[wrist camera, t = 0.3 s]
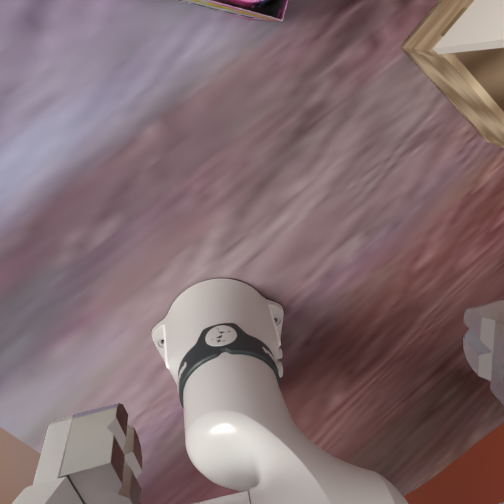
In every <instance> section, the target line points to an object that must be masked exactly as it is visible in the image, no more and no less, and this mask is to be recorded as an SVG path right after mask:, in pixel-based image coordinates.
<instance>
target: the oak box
mask: <svg viewBox="0 0 504 504" xmlns="http://www.w3.org/2000/svg"><path fill="white" fill-rule="evenodd" d="M473 1H474V0H439V1H438V2H437V3H436V5H435V6H434V7H433V8H432V9H431V11H430V12H429V13H428V14H427V15H426V17H425V18H424V19H423V20H422V21H421V23H420V24H419V25H418V26H417V27H416V29H415V30H414V31H413V32H412V33H411V35H410V36H409V37H408V38H407V39H406V40H405V42H404V43H403V44H402V45H401V46H400V47H401V48H402V50H403V51H404V52H405V53H406V54H407V55H408V56H409V57H410V58H411V59H412V60H413V62H414V63H415V64H416V65H417V66H418V67H419V68H420V69H421V70H422V71H423V72H424V74H425V75H426V76H427V77H428V78H429V79H430V80H431V81H432V82H433V83H434V84H435V86H436V87H437V88H438V89H439V90H440V91H441V92H442V93H443V94H444V95H445V96H446V98H447V99H448V100H449V101H450V102H451V103H452V104H453V105H454V106H455V107H456V108H457V110H458V111H459V112H460V113H461V114H462V115H463V116H464V117H465V118H466V119H467V120H468V121H469V123H470V124H471V125H472V126H473V127H474V128H475V129H476V130H477V131H478V132H479V133H480V135H481V136H482V137H483V138H484V139H485V140H486V141H487V142H489V143H492V144H494V145H497V146H499V147H502V148H504V48H496V49H486V50H476V51H466V52H457V53H447V54H437V53H436V52H435V51H434V50H433V48H434V47H435V46H436V44H437V43H438V42H439V41H440V40H441V39H442V37H443V36H444V35H445V34H446V33H447V32H448V30H449V29H450V28H451V27H452V26H453V25H454V23H455V22H456V21H457V20H458V19H459V18H460V17H461V15H462V14H463V13H464V12H465V11H466V10H467V8H468V7H469V6H470V5H471V4H472V3H473Z"/></svg>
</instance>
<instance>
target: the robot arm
mask: <svg viewBox="0 0 504 504" xmlns="http://www.w3.org/2000/svg"><path fill="white" fill-rule="evenodd" d="M283 316H284V312H283V308H282V306H281V305H280V304H278V303H276V302H273V301H271V300H267V299H265V298H264V297H263V296H261V295H260V294H259V293H258V292H257V291H256V290H255V289H254V288H252V287H251V286H249V285H247V284H245V283H243V282H240V281H237V280H233V279H211V280H206V281H203V282H200V283H198V284H195V285H193V286H191V287H190V288H188V289H187V290H185V291H184V292H183V293H182V294H181V295H179V297H178V298H177V299H176V300H175V301H174V303H173V304H172V306H171V308H170V310H169V312H168V314H167V316H166V317H165V318H164V319H163V320H162V321H161V322H159V323H158V324H157V325H156V326H155V327H154V328H153V330H152V333H151V334H152V339H153V341H154V343H155V345H156V347H157V348H158V350H159V352H160V354H161V356H162V358H163V359H164V361H165V363H166V367H167V369H169V370H170V372H171V374H172V376H173V378H174V380H175V381H176V383H177V385H178V393H179V397H180V402H181V405H182V407H183V409H184V424H185V441H186V449H187V453H188V455H189V458H190V459H191V461H192V463H193V464H194V466H195V467H196V468H197V469H198V470H199V471H200V472H201V473H202V474H203V475H204V476H206V477H207V478H208V479H209V480H211V481H212V482H214V483H216V484H218V485H221V486H223V487H227V488H230V489H234V490H238V491H241V492H240V493H236V494H231V495H227V496H223V497H219V498H214V499H210V500H206V501H202V502H197V503H193V504H250V499H249V495H250V498H251V503H252V504H408V503H407V501H406V499H405V498H404V497H403V496H402V494H401V493H400V492H399V491H398V490H397V489H396V488H395V487H394V486H393V485H392V484H391V483H390V482H389V481H388V480H386V479H385V478H384V477H382V476H381V475H379V474H378V473H376V472H374V471H371V470H367V469H363V468H360V467H357V466H354V465H351V464H348V463H346V462H344V461H342V460H340V459H338V458H336V457H334V456H332V455H330V454H329V453H327V452H325V451H324V450H322V449H321V448H319V447H318V446H317V445H315V444H314V443H313V442H312V441H310V440H309V439H308V438H307V437H306V436H305V435H304V434H303V433H302V432H301V431H300V430H299V429H298V427H297V426H296V425H295V423H294V422H293V420H292V418H291V416H290V413H289V411H288V409H287V406H286V404H285V402H284V399H283V396H282V394H281V391H280V378H281V377H282V376H283V366H282V363H281V361H277V360H278V359H282V349H281V348H280V349H279V347H280V346H281V341H280V338H281V331H282V323H283ZM274 318H276V319H275V320H274ZM464 323H465V324H466V325H467V326H468V328H469V330H468V331H467V333H466V334H465V336H464V337H463V349H464V352H465V355H466V358H467V361H468V363H469V364H470V366H471V368H472V369H473V370H474V371H475V373H476V374H477V375H478V376H480V377H482V378H485V379H487V380H489V381H491V385H490V390H491V391H492V392H493V394H494V395H495V396H496V397H497V398H498V399H499V400H500V401H501V403H502V404H503V405H504V298H503V299H499V300H496V301H492V302H488V303H485V304H481V305H478V306H474V307H471V308H467V309H466V311H465V314H464ZM161 340H164V341H161ZM127 421H128V414H127V412H126V410H125V408H124V406H123V404H120V403H119V404H114V405H110V406H106V407H102V408H98V409H94V410H90V411H86V412H82V413H78V414H76V415H72V416H68V417H64V418H60V419H56V420H53V421H52V423H51V424H50V425H49V428H48V431H47V435H46V438H45V442H44V446H43V449H42V453H41V457H40V460H39V464H38V468H37V471H36V475H35V478H34V483H33V486H29V487H26V488H25V489H24V490H23V491H22V492H21V494H20V495H19V496H18V497H17V498H16V499H15V500H14V502H13V503H12V504H140V502H141V488H140V486H139V484H138V481H137V477H138V476H139V474H140V473H141V471H142V453H141V445H140V442H139V439H138V435H137V433H136V431H135V429H134V428H133V427H131V426H129V425H127ZM499 504H504V502H503V503H499Z"/></svg>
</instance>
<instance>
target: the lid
mask: <svg viewBox="0 0 504 504" xmlns="http://www.w3.org/2000/svg"><path fill="white" fill-rule="evenodd" d="M496 48H504V0H474V1H473V3H472V4H471V5H470V6H469V7H468V8H467V10H466V11H465V12H464V13H463V14H462V15H461V17H460V18H459V19H458V20H457V21H456V22H455V23H454V25H453V26H452V27H451V28H450V29H449V30H448V32H447V33H446V34H445V35H444V36H443V37H442V39H441V40H440V41H439V42H438V43H437V44H436V46H435V47H434V48H433V50H434V51H435V52H436V53H437V54H447V53H457V52H466V51H476V50H486V49H496Z"/></svg>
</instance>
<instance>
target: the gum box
mask: <svg viewBox="0 0 504 504" xmlns="http://www.w3.org/2000/svg"><path fill="white" fill-rule="evenodd" d="M176 1H180V2H184V3H187V4H191V5H195V6H198V7H202V8H206V9H210V10H213V11H217V12H221V13H225V14H229V15H233V16H237V17H241V18H245V19H249V20H268V21H281V22H282V21H283V19H284V15H285V11H286V7H287V3H288V0H176Z"/></svg>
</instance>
